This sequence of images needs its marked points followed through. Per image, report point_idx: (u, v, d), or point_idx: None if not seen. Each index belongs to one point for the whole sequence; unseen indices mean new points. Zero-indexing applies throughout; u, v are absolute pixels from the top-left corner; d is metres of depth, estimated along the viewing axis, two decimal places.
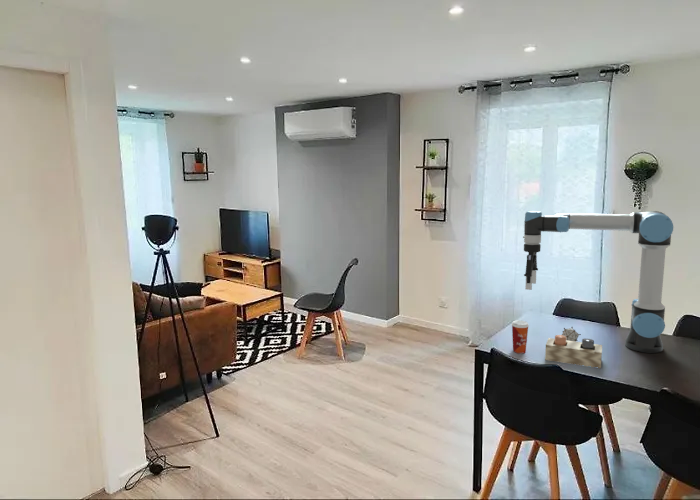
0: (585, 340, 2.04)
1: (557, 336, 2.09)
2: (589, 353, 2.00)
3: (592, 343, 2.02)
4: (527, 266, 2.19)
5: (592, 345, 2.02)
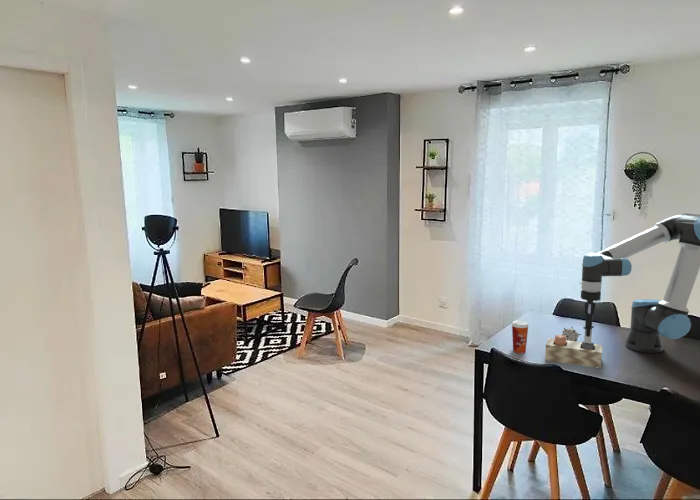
0: (585, 343, 2.04)
1: (557, 336, 2.09)
2: (589, 353, 2.00)
3: (592, 346, 2.02)
4: (587, 320, 1.98)
5: (592, 348, 2.02)
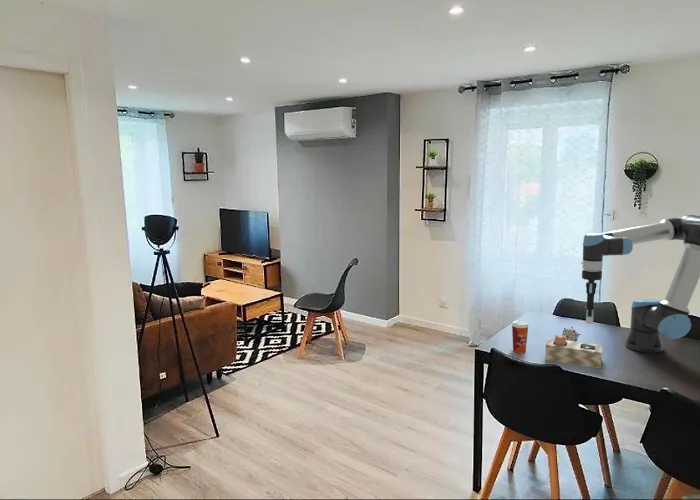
0: (585, 347, 2.04)
1: (557, 336, 2.09)
2: (589, 353, 2.00)
3: None
4: (588, 300, 1.97)
5: None
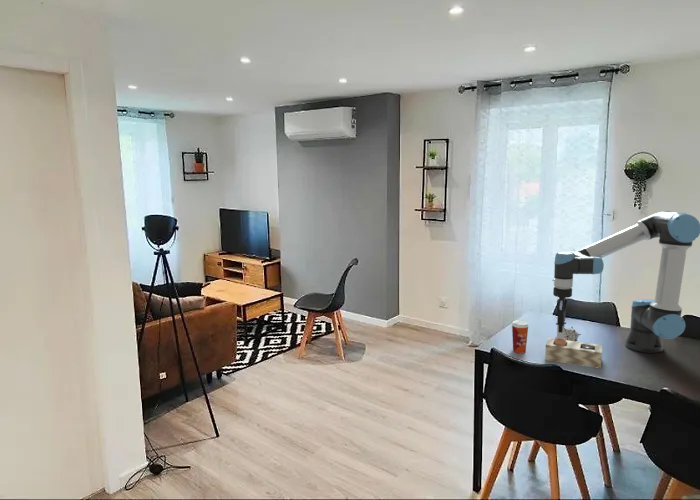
0: (585, 347, 2.04)
1: None
2: (589, 353, 2.00)
3: None
4: (559, 316, 2.04)
5: None
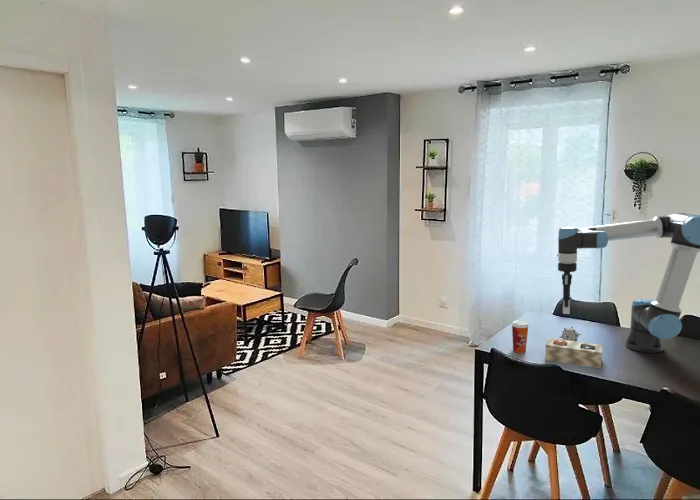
0: (585, 347, 2.04)
1: (557, 340, 2.10)
2: (589, 353, 2.00)
3: None
4: (564, 291, 2.05)
5: None
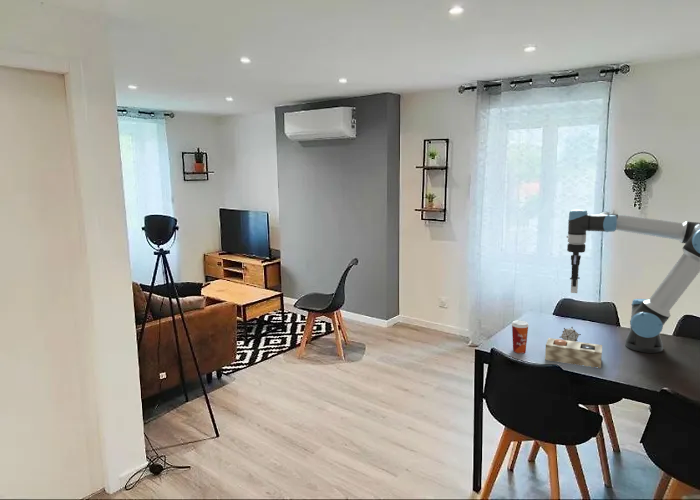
0: (585, 347, 2.04)
1: (557, 340, 2.10)
2: (589, 353, 2.00)
3: None
4: (573, 271, 2.15)
5: None
